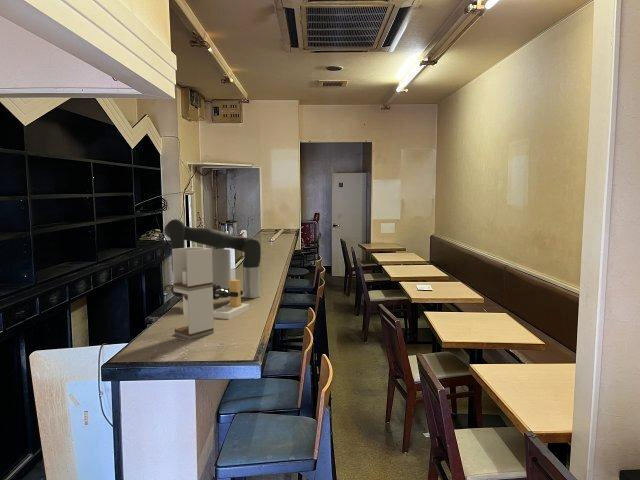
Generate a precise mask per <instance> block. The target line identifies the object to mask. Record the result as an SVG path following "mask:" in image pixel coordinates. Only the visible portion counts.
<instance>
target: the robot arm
mask: <svg viewBox="0 0 640 480" xmlns="http://www.w3.org/2000/svg"><path fill="white" fill-rule="evenodd" d="M163 232H164V234H165V236H166V237H167V238H169V239H170V242H171V250H172V249H179V248H185V241H188V242H193V243H197V244H201V245H203V246H209V247H214V248H219V249H230V250H234V251H239V252H241V253H243V254H244V256H243V257H244V259H243V261H242V290H241V296H243V299H256V298H260V296H261V284H260V283H261V282H260V281H261V280H260V262H261V255H262V254H261V252H262V251H261V247H262V246H261V243H260V241H259V240H257V239H256V238H254V237H246V236H245V237H244V236H237V235H232V234H230V233H228V232H224V231H221V230H218V229H213V228H208V227H207V228H205V227H204V228H203V227H197V228H196V227H190V226H187V225H185V223H184V222H183V221H181V220H180V219H178V218H176V219H171V220H169V222H167V224H166V225H165V226H164V228H163ZM171 270H172V274H173V257H172V256H171ZM171 293H172V295H173V296H174V297H179V298H183V293H178V292H174V291H173V285H172V286H171ZM230 297H238V292H230V291H229V288H222V289H221V287H220V285H217V284H213V301H215V300H217V301H218V300H219V299H221V298H222V299H225V298H226V299H227V298H230Z"/></svg>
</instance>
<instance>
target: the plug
mask: <svg viewBox="0 0 640 480" xmlns="http://www.w3.org/2000/svg"><path fill="white" fill-rule="evenodd" d="M241 283H242V282H241V279H234V278H233V279H231V280H230V281H229V291H230V292H238V297H229V303H230V307H239V306H241V303H242V295H241V289H242V287H241Z"/></svg>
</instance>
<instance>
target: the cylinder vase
mask: <svg viewBox="0 0 640 480" xmlns="http://www.w3.org/2000/svg"><path fill="white" fill-rule="evenodd" d="M231 264H232V262H231V249H229V248H219V249H217V248H215V249H212V274H213V284H217V285H220V287H221V289H222V288H229V281H230V280H232V278H231V277H232V271H231V269H232V268H231Z"/></svg>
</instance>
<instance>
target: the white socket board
mask: <svg viewBox="0 0 640 480" xmlns="http://www.w3.org/2000/svg"><path fill="white" fill-rule="evenodd" d="M248 310H250V303H242V302H241V306H239V307H230V302H229V303H227V304H225V305H222V306H220V307H218V308H215V309H213V319H225V320H230V319H232V318H235V317H236V316H238V315H240V314H242V313H244V312H246V311H248Z"/></svg>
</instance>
